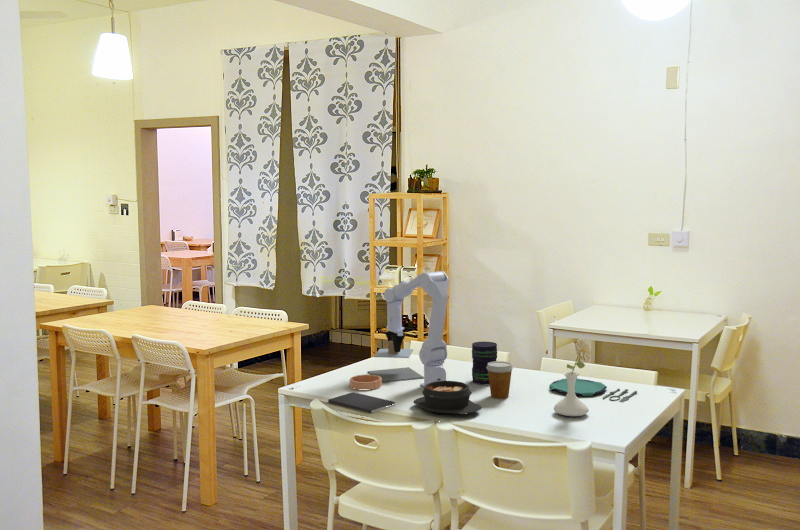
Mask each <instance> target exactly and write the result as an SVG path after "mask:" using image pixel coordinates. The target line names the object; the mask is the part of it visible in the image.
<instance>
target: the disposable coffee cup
mask: <svg viewBox="0 0 800 530" xmlns="http://www.w3.org/2000/svg"><path fill="white" fill-rule="evenodd" d="M486 368H487V370H488V376H489V384H490V385H489V391H490V396H491V398H493V399H500V400H501V399H503V400H504V399H507V398H509V394H510V387H511V380H512V371H513V369H514V366H513V364H512V363H511V362H509V361H504V360H503V361H502V360H501V361H500V360H499V361H498V360H496V361H494V362H489V363H488V365H487V367H486Z"/></svg>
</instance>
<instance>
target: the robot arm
mask: <svg viewBox="0 0 800 530" xmlns="http://www.w3.org/2000/svg"><path fill="white" fill-rule="evenodd" d="M449 283H450V279H449V277H448V275H447V274H446V272H445V271H443V270H438V271H430V272H422V273H419V274H418V275H417V276H415V277H413V279H411V280H410V281H408V280H401V281H400V283H399V284H394V285H393V287H387V288H386V289H384V291H383V298H384V300H385V302H386V308H387V309H386V311H387V312H386V313H387V314H386V315H387V316H386V318H387V321H386V322H387V325H386V331H385V332H384V335H385V336H386V339H387V343H388V342H389V341H393V345H394V351H395V352H400V350H401V349H402V345H403V342H404V339H405V338H406V335H405V334H404V331H403V330H405V327H403V324H402V320H403V319H402V318H403V317H402V316H403V315H402V306H403V301H404V300H405V298H406V297H409V296H410V295H412V294H413V292H414V290H415V289H418V288H419V287H420V288H421V289H422V290H423V291H424V292H425V293H426V294H427V295H428V296H429V297H431V299H432V300H431V301H432V303H431V310H430V311H431V312H430V318H429V325H428V326H429V327H428V334H427V337H426V339H425V340H424V341H423V342H422V344H421V348H420V350H419V353H418V354H419V355H418V356H419V359H420V362H421V364H422V365H423V375H424V376H423V377H424V378H423V382H422V383H420V386H422V387H423V388H425V385H426V384H428V383H431V382H436V381H447V371H446V369H445V368H444V364H445V360H447V358H448V350H447V349H448V348H447V346H448V344H447V343H446V342H445V340H443V336H444V328H445V321H446V313H447V305H448V298H449V294H448V290H449V289H448V288H449Z"/></svg>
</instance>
